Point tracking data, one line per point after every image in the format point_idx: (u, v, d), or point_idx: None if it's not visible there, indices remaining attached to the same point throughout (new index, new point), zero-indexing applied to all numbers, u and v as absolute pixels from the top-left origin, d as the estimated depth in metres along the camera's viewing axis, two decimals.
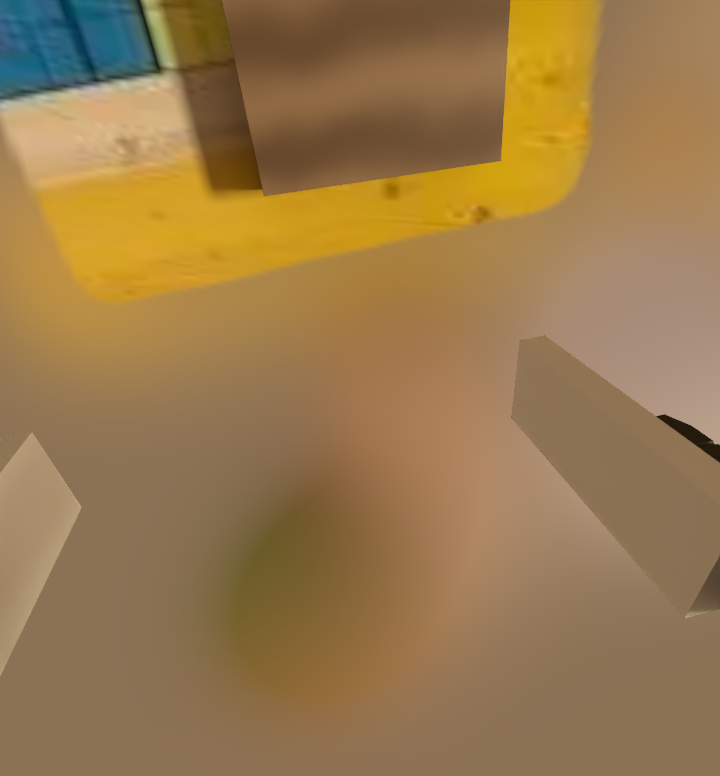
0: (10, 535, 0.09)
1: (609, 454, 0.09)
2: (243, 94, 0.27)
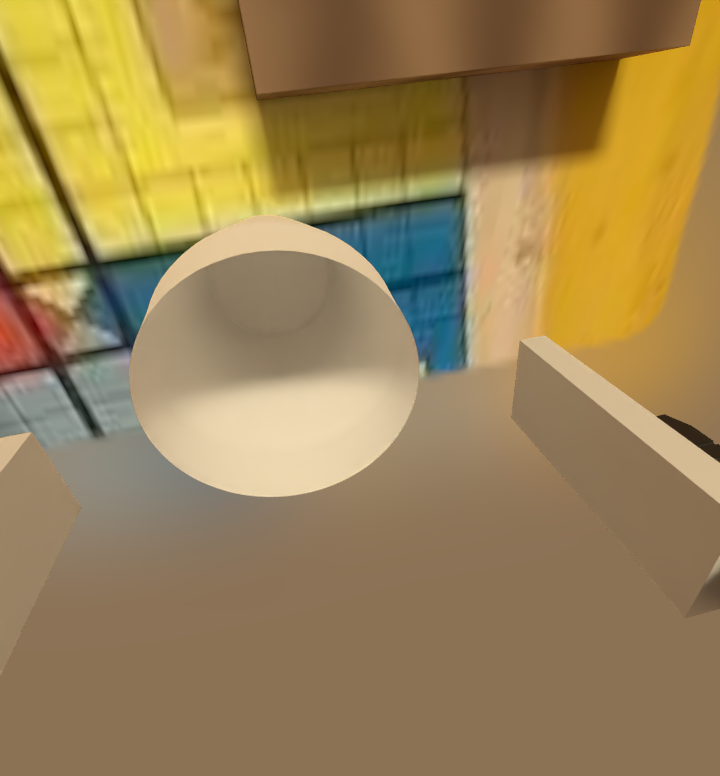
0: (10, 535, 0.09)
1: (609, 454, 0.09)
2: (557, 57, 0.17)
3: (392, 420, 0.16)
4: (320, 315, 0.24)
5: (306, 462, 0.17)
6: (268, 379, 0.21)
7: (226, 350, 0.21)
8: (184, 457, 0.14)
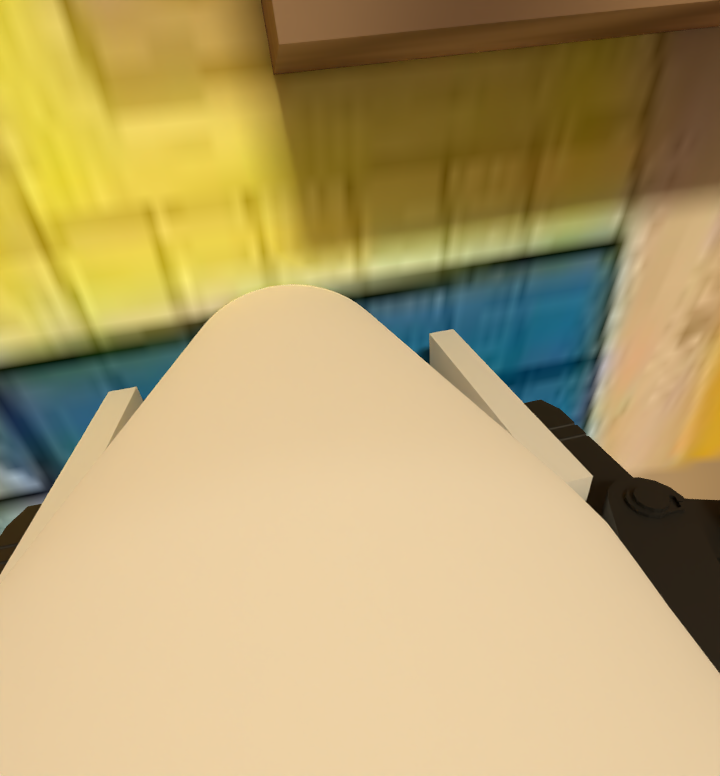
0: None
1: None
2: None
3: None
4: None
5: None
6: None
7: None
8: None
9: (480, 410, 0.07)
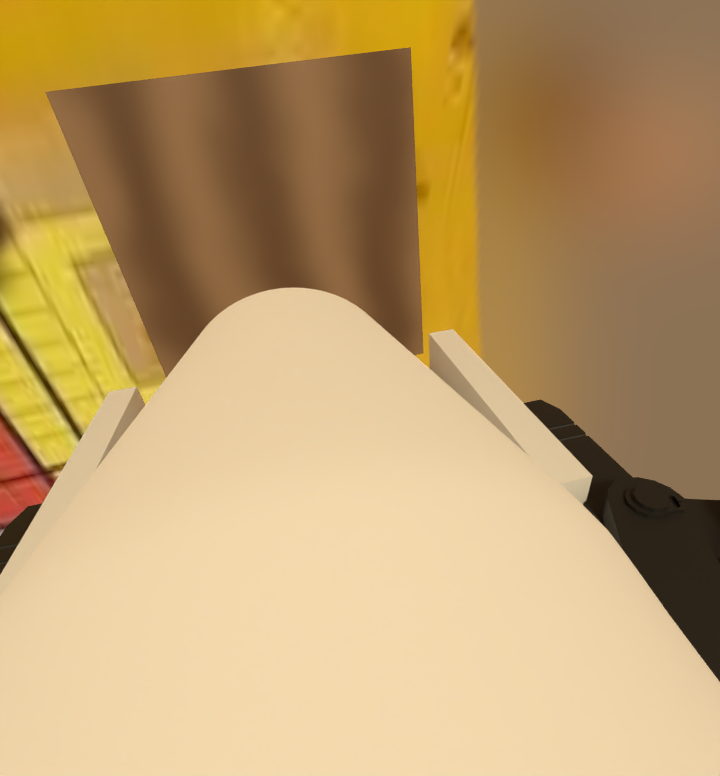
0: None
1: None
2: None
3: None
4: None
5: None
6: None
7: None
8: None
9: (480, 415, 0.07)
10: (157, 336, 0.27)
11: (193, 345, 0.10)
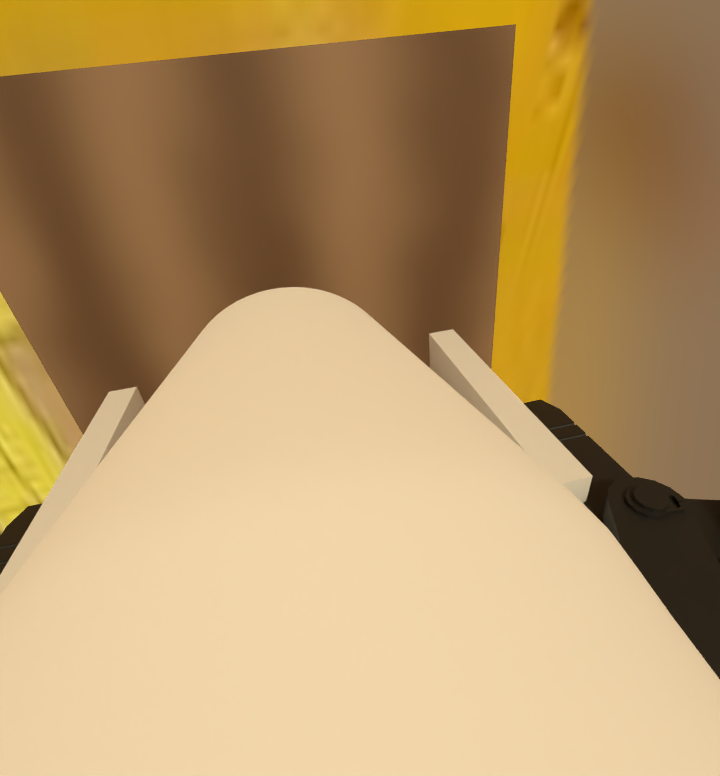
0: None
1: None
2: None
3: None
4: None
5: None
6: None
7: None
8: None
9: (481, 415, 0.07)
10: None
11: (193, 345, 0.10)
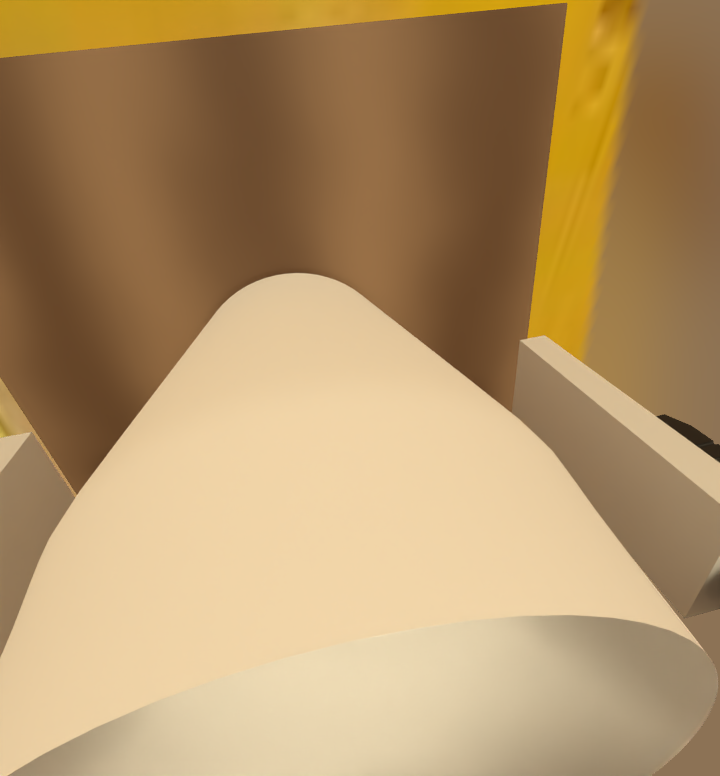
0: (10, 535, 0.09)
1: (609, 454, 0.09)
2: None
3: (566, 742, 0.08)
4: None
5: (375, 775, 0.09)
6: None
7: None
8: None
9: (457, 370, 0.08)
10: None
11: (210, 322, 0.11)
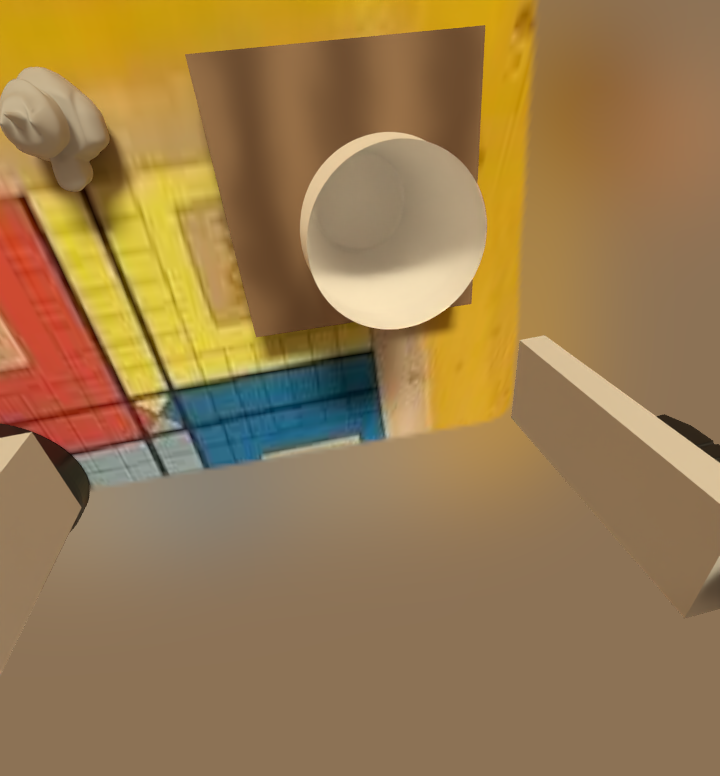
0: (10, 535, 0.09)
1: (609, 454, 0.09)
2: None
3: (461, 281, 0.22)
4: (391, 236, 0.31)
5: (396, 316, 0.24)
6: (357, 275, 0.28)
7: (326, 253, 0.28)
8: (324, 294, 0.21)
9: (428, 157, 0.23)
10: (247, 274, 0.31)
11: None
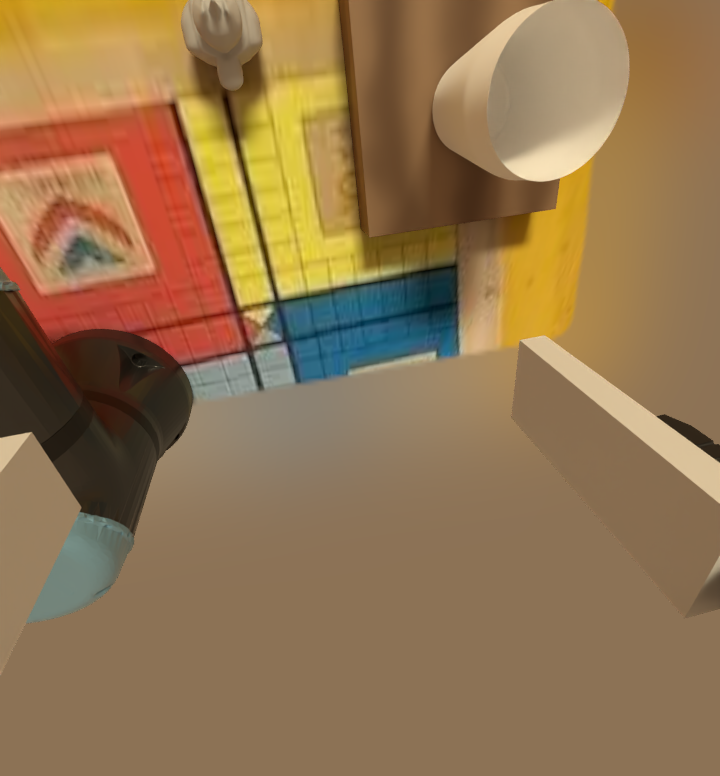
0: (10, 535, 0.09)
1: (609, 454, 0.09)
2: (495, 217, 0.39)
3: (595, 141, 0.27)
4: (496, 139, 0.35)
5: (534, 179, 0.28)
6: None
7: (450, 144, 0.32)
8: (488, 148, 0.25)
9: (563, 39, 0.27)
10: (369, 173, 0.35)
11: None
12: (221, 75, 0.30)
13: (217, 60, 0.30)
